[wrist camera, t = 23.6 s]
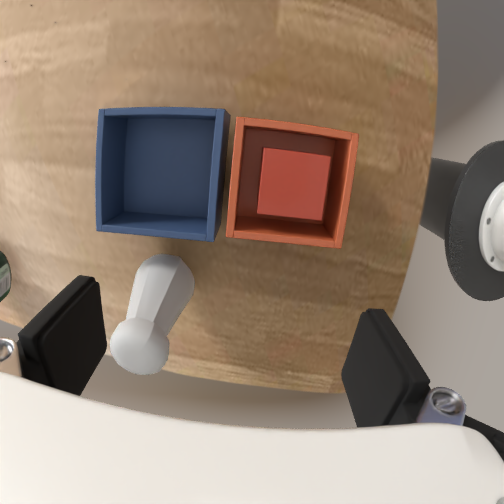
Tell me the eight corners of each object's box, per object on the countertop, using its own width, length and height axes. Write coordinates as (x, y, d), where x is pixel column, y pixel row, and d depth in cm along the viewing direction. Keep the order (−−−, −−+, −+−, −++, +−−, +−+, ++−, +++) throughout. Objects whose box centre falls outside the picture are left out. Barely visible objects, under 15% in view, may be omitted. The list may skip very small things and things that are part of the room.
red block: (318, 153, 27) (331, 156, 22) (310, 207, 29) (321, 220, 24) (262, 146, 27) (264, 147, 22) (256, 201, 28) (257, 213, 24)
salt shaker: (204, 289, 32) (189, 383, 20) (155, 301, 33) (121, 391, 21) (186, 238, 30) (154, 319, 18) (134, 253, 30) (82, 332, 18)
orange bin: (340, 134, 27) (359, 133, 22) (326, 229, 30) (341, 248, 25) (240, 121, 26) (236, 116, 21) (230, 219, 30) (225, 237, 24)
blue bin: (230, 115, 26) (224, 109, 21) (220, 224, 30) (213, 242, 25) (124, 112, 26) (98, 109, 21) (120, 215, 29) (96, 231, 24)
